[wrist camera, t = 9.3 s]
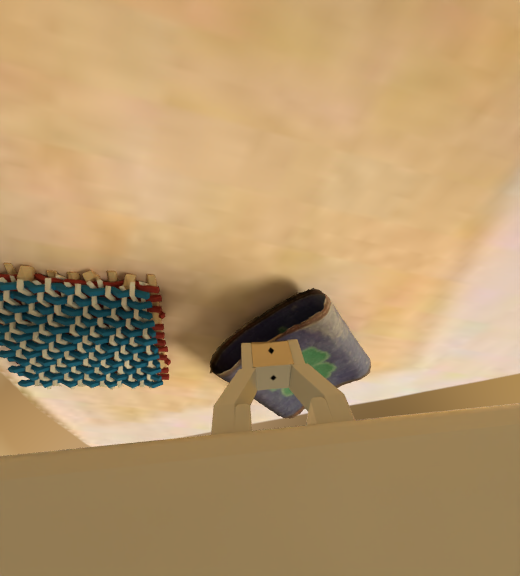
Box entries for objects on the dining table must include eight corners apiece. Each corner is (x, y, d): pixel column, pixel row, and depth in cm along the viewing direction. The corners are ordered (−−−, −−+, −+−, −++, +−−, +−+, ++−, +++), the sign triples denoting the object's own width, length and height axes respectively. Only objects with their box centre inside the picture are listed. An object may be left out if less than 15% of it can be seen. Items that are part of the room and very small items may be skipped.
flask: (333, 303, 12) (385, 380, 18) (313, 277, 15) (364, 352, 21) (208, 383, 14) (291, 430, 20) (208, 348, 17) (282, 399, 22)
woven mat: (174, 372, 20) (168, 393, 18) (40, 369, 18) (20, 392, 17) (165, 270, 14) (156, 287, 13) (-29, 253, 13) (-69, 270, 11)
